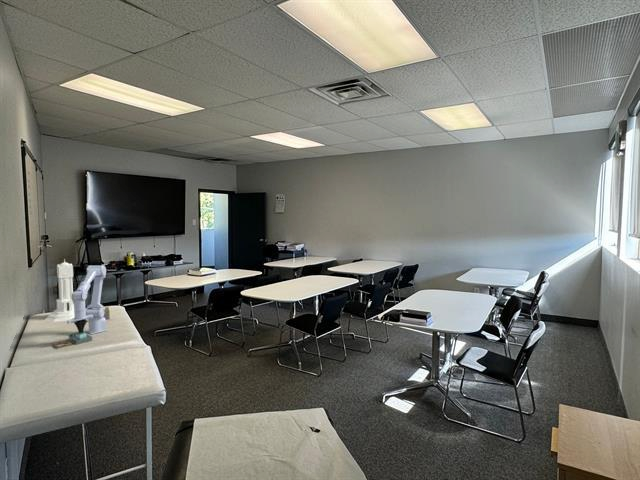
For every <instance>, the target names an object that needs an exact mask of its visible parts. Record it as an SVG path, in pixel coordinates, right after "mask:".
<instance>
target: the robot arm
mask: <svg viewBox="0 0 640 480" xmlns="http://www.w3.org/2000/svg"><path fill="white" fill-rule="evenodd" d="M106 275H107V268H106V266H105V265H104V264H102V265H88V266H87V267H86V276H85V277H84V280H83V281H81V282H80V283H79V284H78V287H77V289H76V290H75V291H73V293H72V297H71V298H72V301H73V304H74V315H75V318H73V319H70V320H67V321H66V324H67V325H71V324H73V323H74V325H75V326H76V329H77V332H78V331H79V333H82V332H83V330H84V329H85V326H86V324H87V322H88V330H86V333H88V334H89V335H94V334H99V333H103V332H107V320H106V319H105V317H103V316H104V310H105V307H104V305H103V304H101V297H102V290H103V284H104V279H105V278H106ZM92 281H93V288H92V294H91V302H90V304H89V305H87V306H86V299H87V298H88V293H89V290H90V288H91V283H92ZM84 331H85V330H84Z"/></svg>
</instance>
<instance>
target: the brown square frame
mask: <svg viewBox="0 0 640 480" xmlns="http://www.w3.org/2000/svg"><path fill="white" fill-rule="evenodd" d="M72 345H73V342H71V341H69V340H65V341H60V342H57V343H56V342H55V343H52V347H54V348H55V349H56V350H57V349H62V348H65V347H70V346H72Z"/></svg>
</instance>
